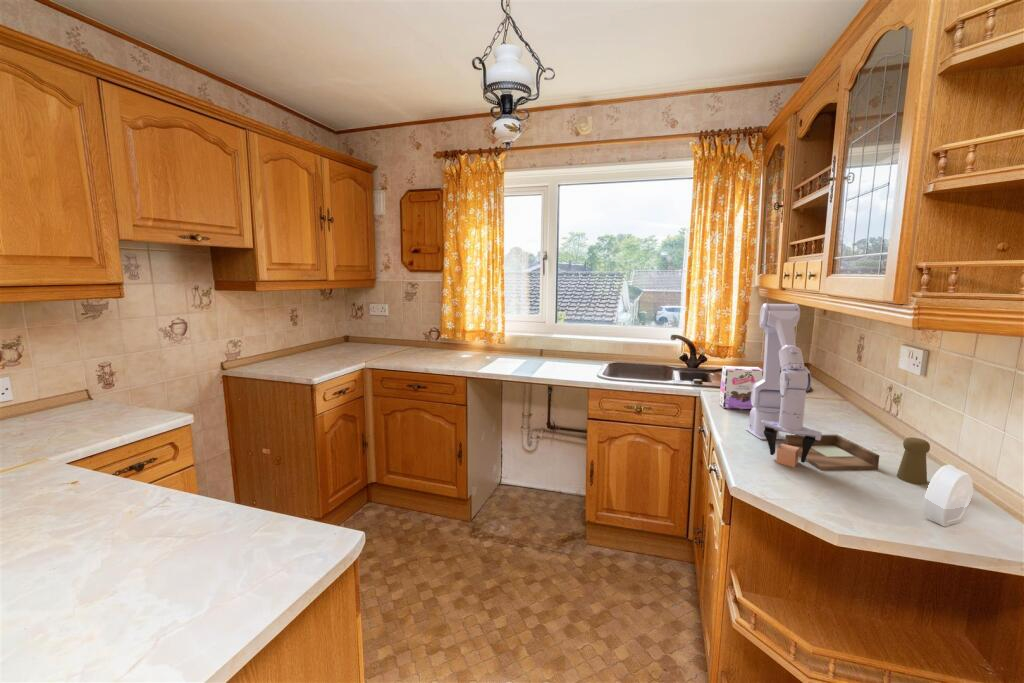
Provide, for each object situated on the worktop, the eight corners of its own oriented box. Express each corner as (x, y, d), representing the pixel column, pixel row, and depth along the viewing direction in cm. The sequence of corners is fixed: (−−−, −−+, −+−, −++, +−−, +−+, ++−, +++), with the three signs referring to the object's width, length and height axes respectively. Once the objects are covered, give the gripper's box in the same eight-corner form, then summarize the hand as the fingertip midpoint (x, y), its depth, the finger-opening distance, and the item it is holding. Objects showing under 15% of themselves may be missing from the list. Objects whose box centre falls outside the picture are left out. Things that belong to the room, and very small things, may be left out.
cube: (776, 462, 128) (777, 447, 128) (780, 458, 131) (781, 443, 131) (794, 467, 125) (795, 452, 124) (798, 462, 128) (799, 447, 128)
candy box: (723, 409, 178) (725, 368, 176) (718, 404, 184) (721, 365, 181) (760, 410, 176) (764, 369, 173) (755, 406, 182) (758, 366, 179)
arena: (784, 447, 139) (785, 434, 139) (835, 446, 139) (837, 434, 139) (820, 469, 123) (821, 455, 123) (877, 469, 124) (879, 455, 123)
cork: (933, 485, 114) (939, 444, 112) (905, 483, 115) (911, 442, 114) (917, 475, 120) (922, 435, 118) (891, 473, 121) (896, 434, 120)
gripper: (759, 409, 128) (755, 454, 130) (819, 420, 118) (814, 469, 120) (766, 404, 133) (762, 447, 135) (825, 414, 123) (820, 461, 125)
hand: (787, 457), depth 128 cm, fingers open, 7 cm apart
